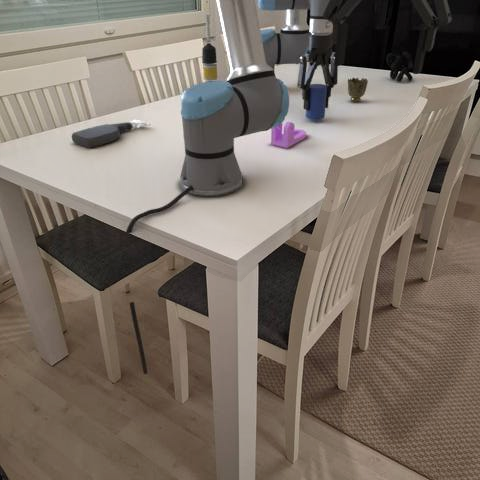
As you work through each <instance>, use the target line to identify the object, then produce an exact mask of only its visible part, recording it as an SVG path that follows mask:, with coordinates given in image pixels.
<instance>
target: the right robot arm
mask: <svg viewBox="0 0 480 480" xmlns="http://www.w3.org/2000/svg"><path fill="white" fill-rule="evenodd" d="M329 1H330V0H257V6H258V8H259V10H261V11H269V12H273V11H284V23H283V25H281V26H280V32H277V31H276V30H275V29H273V28H269V29H268V28H266V29H260V32H261V38H262V43H263V49H264V54H265V60H266V63H267V65H269V66H270V67H271V68H273V69H274V70H275V66H276V65H299V67H298V75H297V83H296V86H297V88H299V89H301V90H302V93H301V99H302V100H303V110H305V111H306V110H307V111H309V110H310V95H311V90H309V87H310V84H312V81H313V77H314V75H315V72H316V70H317V69H318V67H319V66H320V67H321V71H322V74H323V79H324V80H323V81H324V85H326V86H327V95H326V106H325V109H328V108H329V100H330V98H331V96H332V89H333V88H334V87H335V86H337V85H338V73H339V71H338V69H339V66H334V63H335V51H333V50H332V49H333V48H332V47H333V45H334V44H332V30H333V24H332V22H330V21H328V20H325V19H324V18H323V13H324V11H325V9H326V7H327V5H328V3H329ZM308 10H309V11H310V13H309V25H308V23H307V19H308ZM329 61H330V62H329ZM307 67H308V68H307ZM274 74H275V78H277V76H276V73H275V71H274Z"/></svg>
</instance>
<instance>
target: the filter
mask: <svg viewBox="0 0 480 480" xmlns="http://www.w3.org/2000/svg"><path fill="white" fill-rule="evenodd" d="M210 17H211V14H204V18H205V27H206V29H205V30H206V31H205V33H206V39H207V40H206V42H207V43H206V45H204V46H202V49H201V50H202V51H201V52H202V54H201V55H202V57H201V58H202V61H201V63H202V71H203V72H202V73H203V74H202V75H203V80H204V81H206V82H213V81H218V64H216V63H218V61H217V48H216V47H215V46H214V45H212V43H210V42H211V40H210V39H211V31H210V29H211V28H210Z"/></svg>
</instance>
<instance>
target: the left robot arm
mask: <svg viewBox="0 0 480 480" xmlns="http://www.w3.org/2000/svg"><path fill="white" fill-rule="evenodd" d="M343 1H344V0H330V1H329V3H328V5H327V7H326V9H325V11H324V13H323V18H324V19H325V20H328V21H330V22H332V24H333V30H332V33H331V34H332V44H333V45H335V51H334V52H335V63H334V66H338V67H339V66H340V67H341V66H342V65H344V64H345V60H346V59H345V57H346V51H347V50H346V47H347V39H348V31H349V30H348V28H349V23H345V21H346V19H347V18H348V17H349V16H350V15H351V13H352V12H353V11H354V10H355V8H356V7H357V6H359V4H360V3H361V2H362V0H346V2H345V3H344V4H343V5H342V2H343ZM410 1H411V3H412V5H413V6H414V9H415V11H416V12H417V13H418V16H419V17H420V19H421V20H422V22H423V24H424V26H425V27H423V28H421V29H420V31H419V37H418V42H417V48H416V52H415V58H414V63H413V68H412V74H413V75H419V74H420V73H421V72H422V71H423V66H424V61H425V56H426V52H431V51H432V50H433V48H434V45H435V40H436V34H437V30H438V28H440V27H442V26H446V25H448V24H450V23H451V22H452V19H453V17H452V14H451V9H450V5H449V3H448V0H433V3H434V7H435V11H436V14H437V17H436V15H435V13H434V12H433V10H432V8H431V6H430V5H429V3H428V1H427V0H410ZM216 5H217V10H218V14H219V20H220V24H221V30H222V34H223V39H224V45H225V49H226V54H227V58H228V64H229V69H230V71H229V72H230V73H229V74H228V76H227V77H226V81H225V80H212V81H213V82H207V81H203V82H200V83H196V84H193V85H191V86H189V87H188V88H187V89H185V90H184V91H183V93H182V95H181V98H180V99H181V100H180V116H181V120H182V121H181V122H182V132H183V143H184V154H185V155H184V158H183V164H182V168H181V171H180V177H179V178H180V179H179V183H180V184H179V185H180V188H181V189H182V192H180V193H179V194H178V195H177V196H176V197H174V198H173V199H172V200H171V201H170V202H168V203H167V204H165V205H163V206H161V207H157V208H152V209H148V210H146V211H144V212H141V213H140V214H137V215H135V216H134V217H133V218H132V219H131V220H130V221H129V223H128V225H127V228H126V231H125V233H126V234H127V235H128V234H131V233H132V230H133V229H134V226H135V225H136V224H137V222H138V221H139V220H141V219H143V218H145V217H148V216H150V215H153V214H154V215H155V214H158V213H162V212H165V211H167V210H168V209H171V207H173V206H174V205H175V204H177V203H178V202H179V201H180V200H181V199H183V198H184V197H185V196H186V195H187V194H190V195H194V196H199V197H221V196H224V195H229V194H232V193H234V192H235V191H237V190H239V189H240V188H241V187H242V185H243V174H242V171H241V168H240V165H239V163H238V160H237V157H236V154H235V139H236V138H240V137H243V136H248V135H252V134H256V133H260V132H267V131H270V130H271V128H274V127H277V126H279V125H280V124H281V123H282V124H283V122H284V121H285V119H286V116H288V113H289V108H290V94H289V93H290V92H289V90H288V88H287V86H286V85H285V82H284V81H283V80H281V79H280V78H278V77H276V78H275V76H276V73H275V74H274V72H275V68H274V69H273V68H271V67H270V66H269V65H267V63H266V60H265V54H264V49H263V43H262V38H261V32H260V30H261V27H260V22H259V15H258V11H257V5H256V0H216ZM341 5H342V6H341ZM340 6H341V8H340ZM129 308H130V313H131V318H132V324H133V328H134V332H135V333H134V334H135V337H136V342H137V346H138V351H139V356H140V362H141V367H142V372H143V374H144V375H147V374H148V367H147V362H146V355H145V350H144V346H143V341H142V336H141V331H140V326H139V322H138V317H137V312H136V305H135V301H131V302H129Z"/></svg>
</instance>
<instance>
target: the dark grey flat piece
mask: <svg viewBox="0 0 480 480" xmlns="http://www.w3.org/2000/svg"><path fill="white" fill-rule="evenodd" d="M142 127H143V128H145V127H151V123H149V122H147V121H143V120H139V119H132V120H131V121H125V122H118V123H109V124H108V123H106V124H100V125H96V126H91V127H87V128H85V129H81V130H78V131H75V132H73V133H72V134H71V140H72V142H73V143H74V144H77V145H80V146H81V147H84V148H87V149H88V148H90V149H92V148H96V147H99V146H103V145H106V144H109V143H112V142H115V141H117V140H119V138H120V135H121V133H122V132H126V131H128V130H132V129H134V128H137V129H140V128H142Z"/></svg>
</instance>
